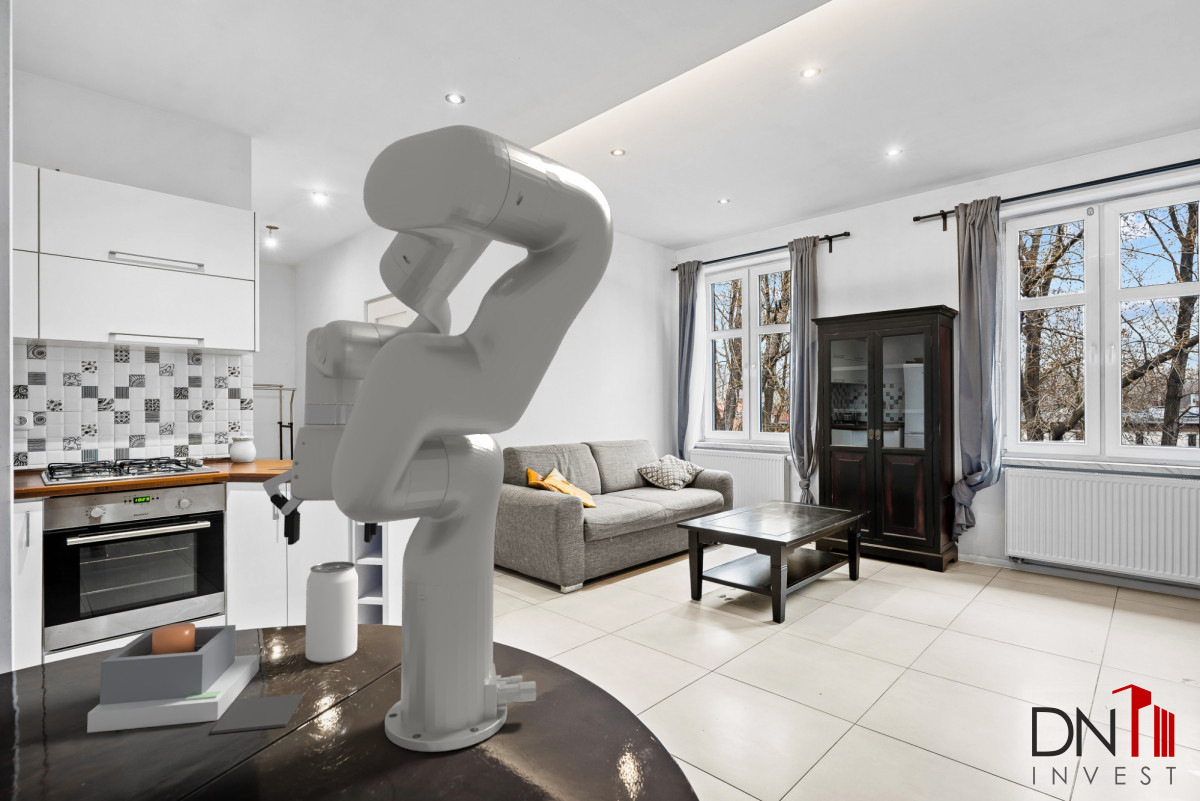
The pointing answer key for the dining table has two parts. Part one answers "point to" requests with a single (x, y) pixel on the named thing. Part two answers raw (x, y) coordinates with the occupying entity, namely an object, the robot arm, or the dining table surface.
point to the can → (331, 612)
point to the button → (174, 639)
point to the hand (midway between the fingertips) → (331, 541)
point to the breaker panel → (171, 682)
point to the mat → (258, 713)
